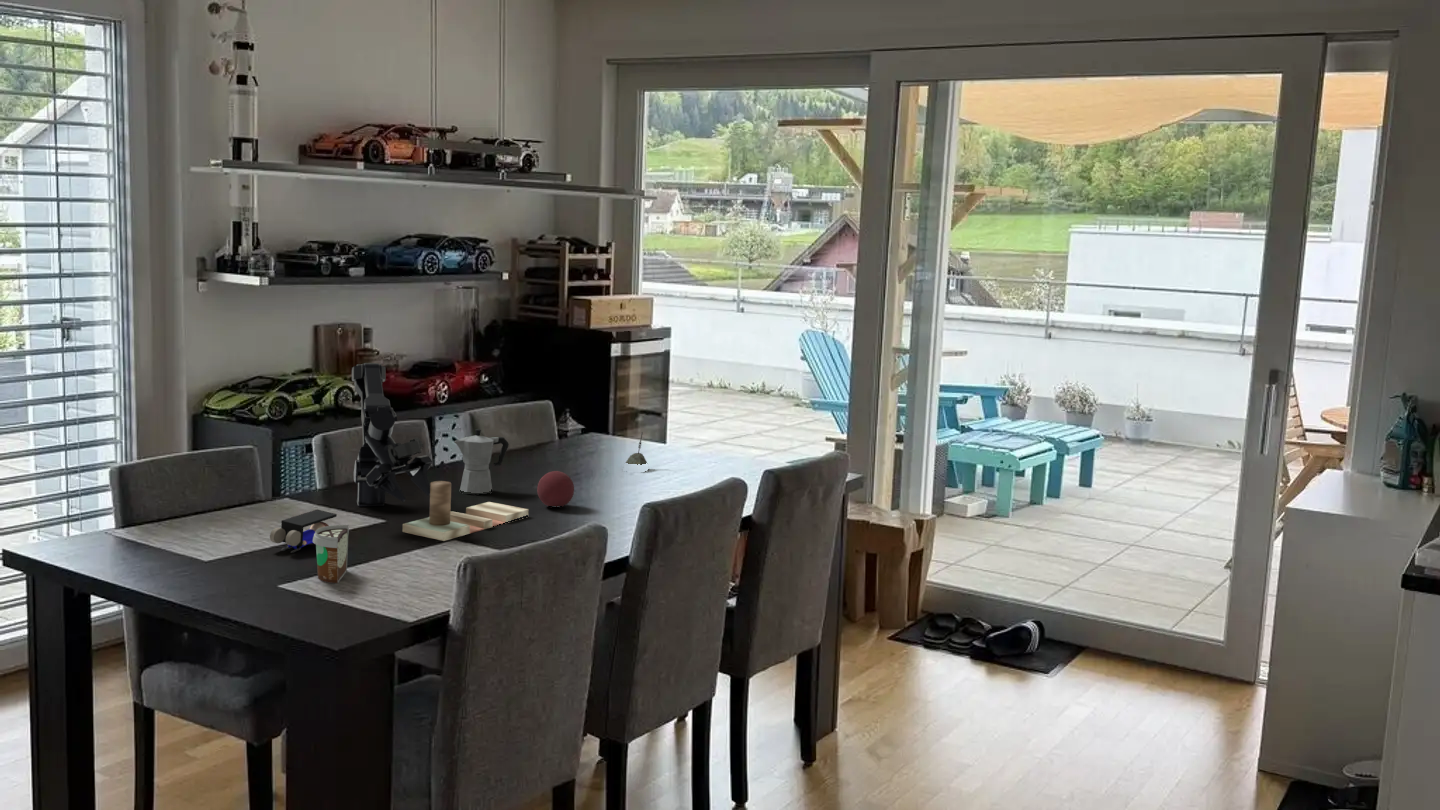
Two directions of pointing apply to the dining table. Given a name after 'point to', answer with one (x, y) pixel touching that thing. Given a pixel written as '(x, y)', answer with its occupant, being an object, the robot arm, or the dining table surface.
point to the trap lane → (466, 521)
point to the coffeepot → (479, 461)
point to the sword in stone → (637, 457)
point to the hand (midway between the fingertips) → (417, 497)
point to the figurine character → (300, 529)
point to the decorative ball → (555, 489)
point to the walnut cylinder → (440, 503)
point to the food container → (331, 552)
